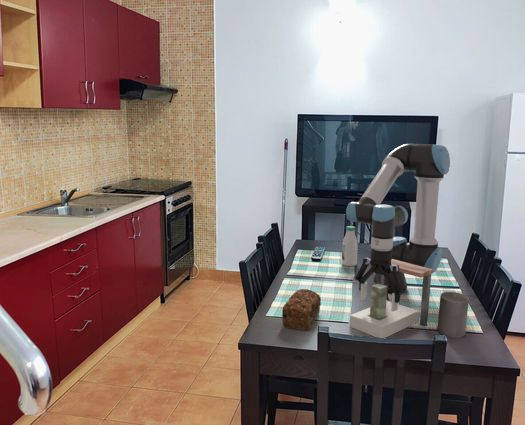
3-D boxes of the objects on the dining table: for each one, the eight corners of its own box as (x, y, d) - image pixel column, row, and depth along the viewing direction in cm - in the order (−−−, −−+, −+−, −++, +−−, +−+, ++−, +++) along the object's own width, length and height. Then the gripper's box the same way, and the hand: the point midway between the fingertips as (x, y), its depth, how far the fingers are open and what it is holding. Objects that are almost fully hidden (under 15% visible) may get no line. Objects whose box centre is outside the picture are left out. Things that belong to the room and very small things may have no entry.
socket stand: (379, 307, 207) (382, 256, 203) (428, 324, 191) (433, 269, 187) (341, 323, 191) (343, 268, 187) (391, 343, 175) (395, 283, 171)
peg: (369, 327, 188) (371, 285, 185) (375, 324, 191) (378, 283, 188) (378, 330, 185) (380, 288, 182) (384, 327, 188) (387, 286, 185)
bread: (295, 309, 204) (296, 286, 202) (321, 313, 201) (322, 289, 199) (280, 327, 187) (281, 302, 185) (308, 332, 183) (309, 306, 182)
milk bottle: (358, 263, 267) (360, 226, 263) (353, 267, 260) (355, 229, 257) (345, 261, 271) (346, 224, 267) (339, 265, 264) (340, 227, 261)
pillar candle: (432, 327, 189) (435, 288, 186) (458, 326, 190) (462, 288, 187) (443, 338, 180) (447, 298, 176) (470, 338, 180) (474, 298, 177)
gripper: (347, 243, 189) (344, 298, 193) (406, 258, 171) (402, 318, 175) (359, 240, 194) (357, 293, 198) (418, 254, 176) (414, 312, 180)
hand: (378, 305), depth 186 cm, fingers open, 13 cm apart
